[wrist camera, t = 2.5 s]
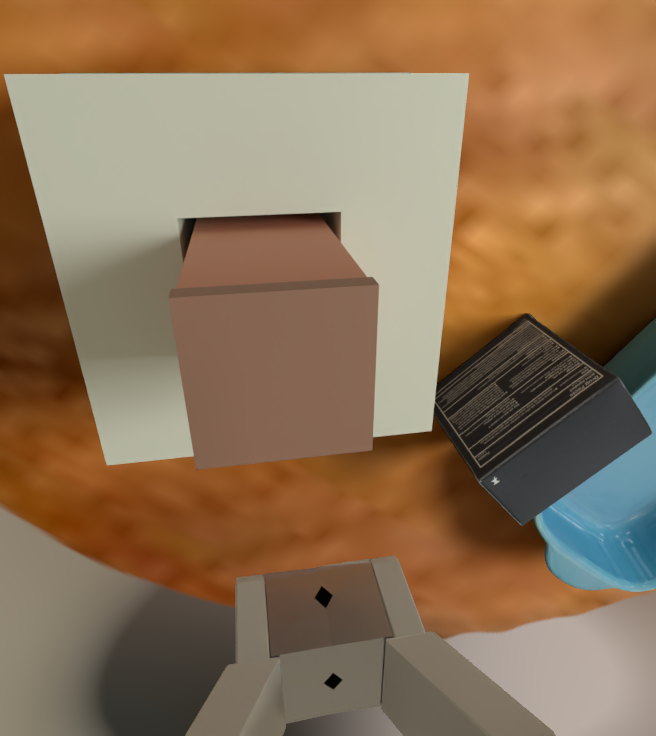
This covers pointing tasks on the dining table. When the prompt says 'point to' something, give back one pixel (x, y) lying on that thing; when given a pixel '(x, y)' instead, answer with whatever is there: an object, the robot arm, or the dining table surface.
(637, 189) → the dining table surface
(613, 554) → the casserole dish
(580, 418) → the small box
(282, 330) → the plunger
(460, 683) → the robot arm
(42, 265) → the dining table surface
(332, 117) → the housing
